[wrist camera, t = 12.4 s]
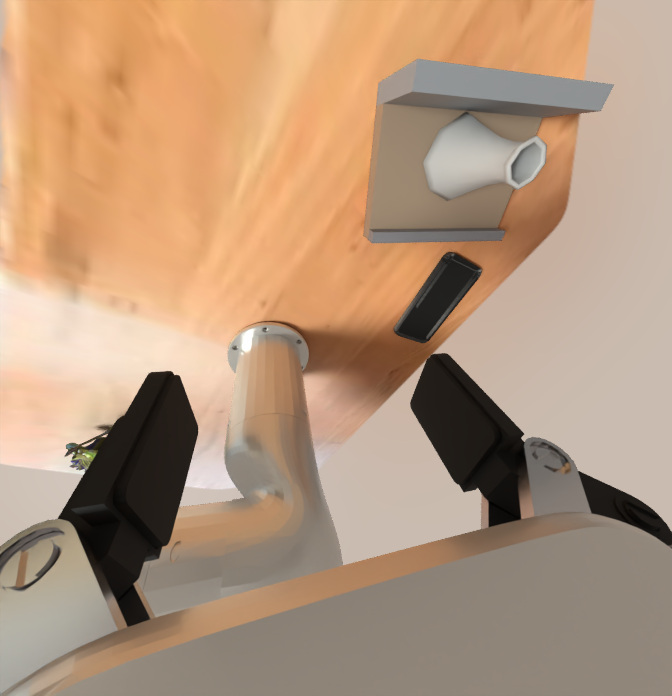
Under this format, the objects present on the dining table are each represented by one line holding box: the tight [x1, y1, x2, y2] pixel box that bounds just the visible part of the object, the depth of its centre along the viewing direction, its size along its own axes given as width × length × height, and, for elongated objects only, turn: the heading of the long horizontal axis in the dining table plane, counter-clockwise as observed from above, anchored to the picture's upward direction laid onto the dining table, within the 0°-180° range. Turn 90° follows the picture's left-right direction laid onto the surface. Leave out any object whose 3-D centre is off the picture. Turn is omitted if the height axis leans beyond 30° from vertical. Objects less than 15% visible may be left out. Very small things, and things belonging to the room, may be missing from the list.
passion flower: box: [65, 427, 112, 479], centre depth 41 cm, size 11×11×12 cm
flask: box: [423, 112, 547, 201], centre depth 23 cm, size 7×7×10 cm
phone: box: [394, 252, 482, 343], centre depth 41 cm, size 8×1×15 cm
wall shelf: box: [363, 59, 614, 243], centre depth 26 cm, size 14×18×8 cm
